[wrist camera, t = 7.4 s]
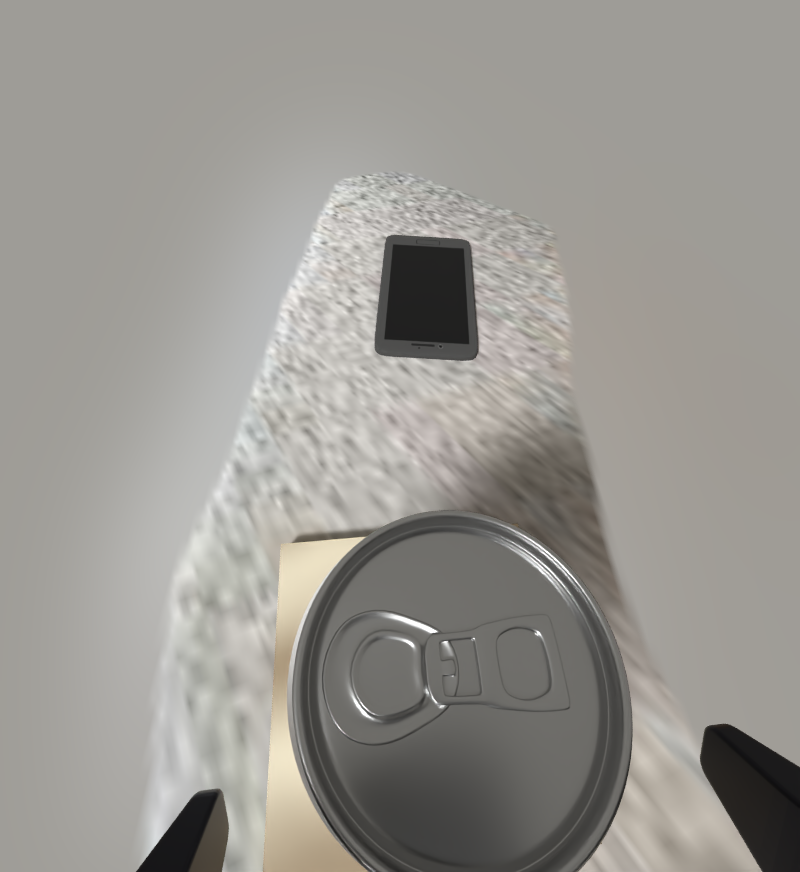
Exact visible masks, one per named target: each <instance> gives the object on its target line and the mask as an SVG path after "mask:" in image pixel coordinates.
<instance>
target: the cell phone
mask: <svg viewBox="0 0 800 872" xmlns="http://www.w3.org/2000/svg"><path fill="white" fill-rule="evenodd" d="M375 350H376V352H377V353H378V354H380V355H385V356H393V357H410V358H427V359H443V360H460V361H466V360H473V359H474V358H476V355H477V329H476V316H475V303H474V290H473V277H472V264H471V251H470V245H469V242H468V241H466V240H462V239H452V238H436V237H419V236H403V235H391V236H388V237H387V239H386V243H385V250H384V259H383V268H382V277H381V286H380V295H379V304H378V313H377V323H376V332H375Z"/></svg>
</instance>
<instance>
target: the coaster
mask: <svg viewBox="0 0 800 872" xmlns="http://www.w3.org/2000/svg"><path fill="white" fill-rule="evenodd" d="M512 525H514V526H516V527H518V528H519V526H518V523H517V524H512ZM364 538H365V537H356V538H345V539H333V540H322V541H310V542H299V543H288V544H281V553H280V571H279V589H278V607H277V625H276V644H275V662H274V680H273V698H272V716H271V734H270V753H269V771H268V789H267V807H266V825H265V843H264V862H263V872H368V871H367V870H366V869H365V868H364V867H362V866H361V865H360V864H359V863H358V862H357V861H355V860H354V859H353V858H352V857H351V856H350V855H349V854H348V853H347V852H346V851H345V850H344V848H343V847H342V846H341V845H340V844H339V843H338V842H337V840H336V839H335V838H334V837H333V835H332V834H331V833H330V831H329V830H328V829H327V827H326V826H325V824H324V823H323V821H322V820H321V818H320V816H319V815H318V813H317V811H316V810H315V808H314V806H313V804H312V802H311V800H310V798H309V796H308V793H307V791H306V789H305V787H304V784H303V782H302V779H301V776H300V773H299V770H298V767H297V764H296V761H295V757H294V753H293V748H292V744H291V738H290V732H289V725H288V714H287V682H288V672H289V665H290V659H291V654H292V649H293V645H294V641H295V637H296V634H297V631H298V628H299V625H300V622H301V620H302V617H303V615H304V613H305V611H306V608H307V606H308V604H309V602H310V600H311V598H312V597H313V595H314V593H315V592H316V590H317V588H318V587H319V585H320V584H321V582H322V581H323V579H324V578H325V577H326V576H327V574H328V573H329V572H330V571H331V569H332V568H333V567H334V566H335V565H336V564H337V563H338V562H339V561H340V560H341V559H342V558H343V557H344V556H345V555H346V554H347V553H348V552H349V551H350V550H351V549H352V548H353V547H354V546H355V545H357V544H358V543H359V542H360V541H361V540H363V539H364ZM601 844H602V842H601Z"/></svg>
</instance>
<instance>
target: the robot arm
mask: <svg viewBox="0 0 800 872" xmlns="http://www.w3.org/2000/svg"><path fill="white" fill-rule="evenodd" d="M700 762H701V766H702V769H703V771H704V774H705V775H706V777H707V779H708V781H709V782H710V784H711V786H712V787H713V789H714V791H715V792H716V794H717V796H718V798H719V799H720V801H721V803H722V804H723V806H724V808H725V809H726V811H727V813H728V814H729V816H730V818H731V820H732V821H733V823H734V825H735V826H736V828H737V830H738V831H739V833H740V835H741V836H742V838H743V840H744V842H745V843H746V845H747V847H748V848H749V850H750V852H751V853H752V855H753V857H754V858H755V860H756V862H757V864H758V865H759V867H760V868H761V870H762V872H800V767H799V766H797V765H795V764H794V763H792V762H790V761H789V760H787V759H786V758H784V757H782V756H781V755H779V754H777V753H776V752H774V751H772V750H771V749H769V748H768V747H766V746H764V745H763V744H761V743H760V742H758V741H756V740H755V739H753V738H752V737H750V736H748V735H747V734H745V733H744V732H742V731H740V730H739V729H737V728H735V727H733V726H731V725H728V724H718V725H710V726H707V727H706V728H705V731H704V736H703V742H702V748H701V754H700ZM228 832H229V823H228V817H227V812H226V806H225V801H224V796H223V792H222V791H221V790H220V789H211V790H203V791H199V792H197V793H196V794H195V795H194V796H193V797H192V798H191V799H190V801H189V802H188V803H187V805H186V806H185V807H184V809H183V810H182V811H181V813H180V814H179V815H178V817H177V818H176V819H175V821H174V822H173V823H172V825H171V826H170V827H169V829H168V830H167V831H166V833H165V834H164V835H163V837H162V838H161V839H160V841H159V842H158V843H157V845H156V846H155V847H154V849H153V850H152V851H151V853H150V854H149V855H148V857H147V858H146V859H145V861H144V862H143V863H142V865H141V866H140V867H139V869H138V870H137V871H136V872H222V867H223V862H224V857H225V851H226V846H227V840H228Z"/></svg>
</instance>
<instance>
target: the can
mask: <svg viewBox="0 0 800 872" xmlns="http://www.w3.org/2000/svg"><path fill="white" fill-rule="evenodd" d="M287 714H288V725H289V732H290V738H291V744H292V748H293V753H294V757H295V761H296V764H297V767H298V770H299V773H300V776H301V779H302V782H303V784H304V787H305V789H306V791H307V793H308V796H309V798H310V800H311V802H312V804H313V806H314V808H315V810H316V811H317V813H318V815H319V816H320V818H321V820H322V821H323V823H324V824H325V826H326V827H327V829H328V830H329V831H330V833H331V834H332V835H333V837H334V838H335V839H336V840H337V842H338V843H339V844H340V845H341V846H342V847H343V848H344V850H345V851H346V852H347V853H348V854H349V855H350V856H351V857H352V858H353V859H354V860H355V861H357V862H358V863H359V864H360V865H361V866H362V867H364V868H365V869H366V870H367V871H368V872H578V871H579V870H580V869H581V868H582V867H583V866H584V865H585V863H586V862H587V861H588V860H589V859H590V857H591V856H592V855H593V854H594V852H595V851H596V849H597V848H598V846H599V845H600V844H601V842H602V840H603V839H604V837H605V835H606V834H607V832H608V830H609V828H610V826H611V824H612V822H613V820H614V817H615V815H616V813H617V810H618V808H619V805H620V802H621V799H622V796H623V793H624V789H625V785H626V781H627V777H628V772H629V766H630V759H631V750H632V708H631V698H630V691H629V685H628V680H627V675H626V671H625V667H624V664H623V660H622V657H621V654H620V651H619V648H618V645H617V642H616V640H615V637H614V635H613V632H612V630H611V628H610V626H609V624H608V621H607V619H606V618H605V616H604V614H603V612H602V610H601V608H600V607H599V605H598V603H597V602H596V600H595V598H594V597H593V595H592V594H591V592H590V591H589V590H588V588H587V587H586V585H585V584H584V583H583V581H582V580H581V579H580V578H579V577H578V575H577V574H576V573H575V572H574V571H573V570H572V569H571V567H570V566H569V565H568V564H567V563H566V562H565V561H564V560H563V559H562V558H561V557H560V556H558V555H557V554H556V553H555V552H554V551H553V550H552V549H550V548H549V547H548V546H546V545H545V544H544V543H542V542H541V541H540V540H538V539H537V538H535V537H534V536H532V535H531V534H529V533H527V532H525V531H524V530H522V529H520V528H518V527H516V526H514V525H512V524H510V523H507V522H505V521H502V520H500V519H497V518H494V517H491V516H487V515H483V514H479V513H473V512H467V511H456V510H441V511H430V512H424V513H419V514H414V515H411V516H407V517H404V518H401V519H399V520H396V521H394V522H391V523H389V524H387V525H385V526H383V527H381V528H379V529H378V530H376V531H374V532H373V533H371V534H370V535H368V536H367V537H365V538H364V539H363V540H361V541H360V542H359V543H358V544H357V545H355V546H354V547H353V548H352V549H351V550H350V551H349V552H348V553H347V554H346V555H345V556H344V557H343V558H342V559H341V560H340V561H339V562H338V563H337V564H336V565H335V566H334V567H333V568H332V569H331V571H330V572H329V573H328V574H327V576H326V577H325V578H324V579H323V581H322V582H321V584H320V585H319V587H318V588H317V590H316V592H315V593H314V595H313V597H312V598H311V600H310V602H309V604H308V606H307V608H306V611H305V613H304V615H303V617H302V620H301V622H300V625H299V628H298V631H297V634H296V637H295V641H294V645H293V649H292V654H291V659H290V665H289V672H288V682H287Z"/></svg>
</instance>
